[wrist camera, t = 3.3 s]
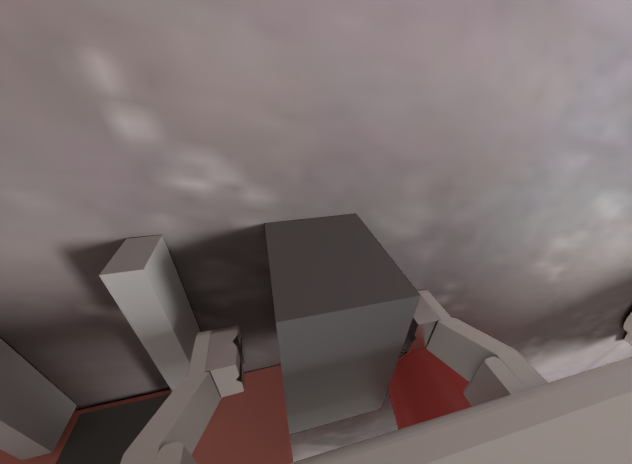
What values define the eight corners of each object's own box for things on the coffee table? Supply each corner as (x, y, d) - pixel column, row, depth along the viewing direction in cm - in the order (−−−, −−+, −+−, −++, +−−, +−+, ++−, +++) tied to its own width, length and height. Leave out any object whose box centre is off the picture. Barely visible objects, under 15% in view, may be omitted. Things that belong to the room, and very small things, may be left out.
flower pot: (356, 408, 22) (416, 593, 14) (387, 332, 16) (516, 570, 9) (451, 386, 25) (547, 532, 17) (506, 314, 19) (690, 482, 11)
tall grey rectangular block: (355, 212, 11) (420, 295, 7) (343, 315, 15) (381, 408, 10) (264, 222, 10) (275, 322, 6) (277, 328, 14) (289, 434, 10)
